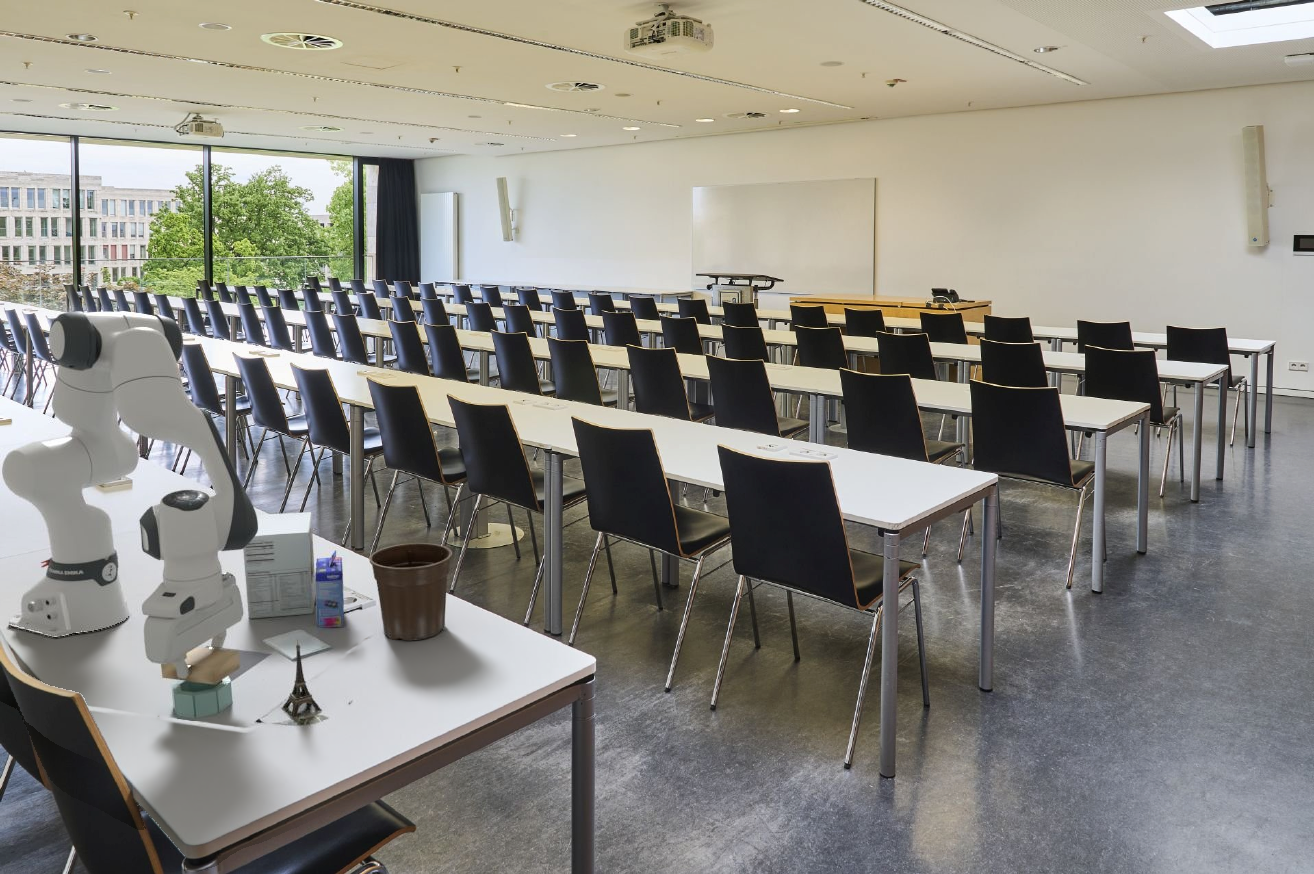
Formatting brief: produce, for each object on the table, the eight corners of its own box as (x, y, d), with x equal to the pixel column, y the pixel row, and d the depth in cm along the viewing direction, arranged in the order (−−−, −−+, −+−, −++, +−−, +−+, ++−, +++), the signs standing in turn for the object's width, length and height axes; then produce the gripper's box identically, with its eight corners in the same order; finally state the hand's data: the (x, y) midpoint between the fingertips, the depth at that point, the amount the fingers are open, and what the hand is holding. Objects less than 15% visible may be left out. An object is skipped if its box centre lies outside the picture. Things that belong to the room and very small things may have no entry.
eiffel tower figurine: (242, 725, 164) (236, 650, 161) (271, 697, 174) (267, 626, 171) (329, 731, 162) (325, 655, 160) (354, 702, 172) (350, 630, 170)
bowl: (162, 716, 165) (160, 691, 164) (198, 693, 174) (196, 669, 173) (209, 723, 163) (206, 697, 162) (242, 699, 172) (240, 675, 171)
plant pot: (359, 627, 203) (355, 552, 200) (429, 608, 214) (427, 537, 210) (395, 652, 191) (392, 573, 188) (468, 631, 202) (467, 556, 198)
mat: (164, 675, 180) (163, 672, 180) (207, 648, 192) (207, 645, 192) (231, 684, 177) (231, 680, 177) (271, 656, 189) (271, 653, 189)
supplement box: (314, 614, 210) (309, 532, 206) (247, 620, 206) (241, 537, 202) (317, 586, 226) (312, 510, 222) (254, 591, 222) (249, 514, 218)
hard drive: (332, 646, 191) (301, 628, 200) (292, 658, 186) (262, 639, 194) (332, 654, 192) (302, 635, 200) (292, 666, 186) (262, 647, 194)
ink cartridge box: (345, 627, 203) (341, 560, 200) (316, 630, 202) (312, 562, 199) (344, 609, 212) (341, 545, 209) (317, 612, 211) (313, 547, 208)
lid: (162, 677, 165) (160, 661, 164) (188, 661, 171) (187, 645, 171) (215, 684, 163) (213, 667, 162) (239, 667, 169) (238, 651, 169)
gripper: (217, 567, 175) (223, 640, 177) (133, 609, 155) (141, 690, 158) (249, 570, 173) (254, 644, 176) (168, 612, 154) (176, 695, 157)
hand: (200, 666), depth 167 cm, fingers closed on lid, 6 cm apart
